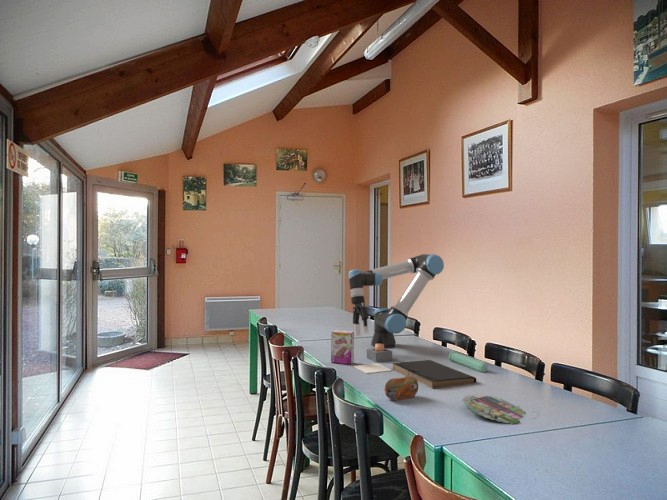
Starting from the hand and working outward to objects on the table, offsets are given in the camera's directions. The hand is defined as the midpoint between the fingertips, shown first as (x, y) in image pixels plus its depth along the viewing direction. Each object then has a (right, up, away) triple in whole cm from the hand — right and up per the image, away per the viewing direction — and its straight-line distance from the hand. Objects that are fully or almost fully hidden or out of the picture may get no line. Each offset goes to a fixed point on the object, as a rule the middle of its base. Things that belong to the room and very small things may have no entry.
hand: (361, 334), depth 256 cm
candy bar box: (-11, -12, -17) cm, 23 cm away
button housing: (+9, -12, -8) cm, 17 cm away
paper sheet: (+3, -12, -28) cm, 30 cm away
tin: (+11, -13, -72) cm, 74 cm away
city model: (+43, -13, -88) cm, 99 cm away
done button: (+9, -9, -8) cm, 15 cm away
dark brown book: (+31, -13, -40) cm, 52 cm away
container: (+53, -13, -21) cm, 59 cm away
